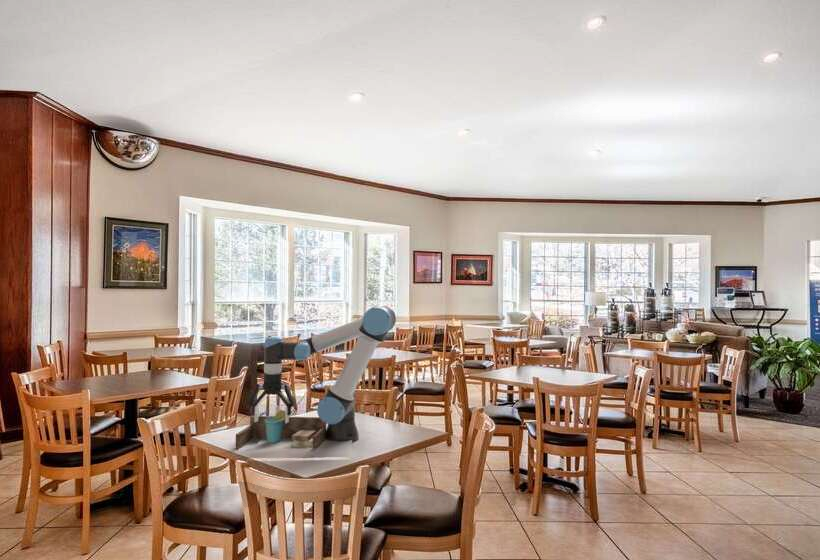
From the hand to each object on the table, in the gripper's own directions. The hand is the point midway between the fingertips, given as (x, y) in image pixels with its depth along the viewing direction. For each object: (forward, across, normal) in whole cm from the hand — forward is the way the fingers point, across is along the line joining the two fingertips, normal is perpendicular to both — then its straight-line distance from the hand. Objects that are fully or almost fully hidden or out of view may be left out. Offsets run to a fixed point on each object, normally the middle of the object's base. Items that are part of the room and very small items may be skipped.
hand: (271, 422), depth 235 cm
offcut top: (+6, -15, 0) cm, 16 cm away
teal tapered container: (+10, 0, 0) cm, 10 cm away
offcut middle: (+8, -15, 0) cm, 17 cm away
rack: (+10, -5, -1) cm, 11 cm away
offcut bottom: (+10, -15, 0) cm, 18 cm away
